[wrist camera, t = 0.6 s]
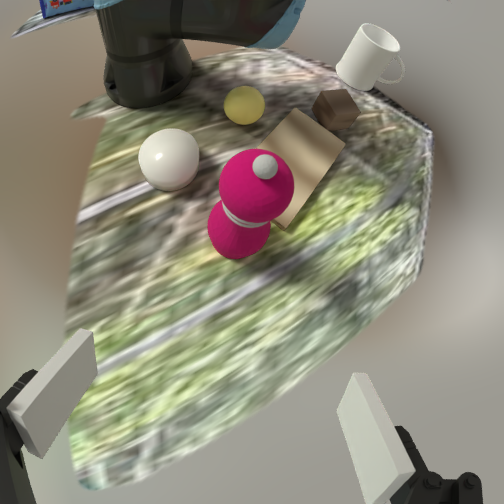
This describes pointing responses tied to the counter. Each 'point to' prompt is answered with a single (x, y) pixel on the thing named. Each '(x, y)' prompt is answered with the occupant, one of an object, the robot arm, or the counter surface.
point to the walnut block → (335, 109)
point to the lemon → (244, 105)
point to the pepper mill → (249, 202)
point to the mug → (369, 58)
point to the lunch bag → (62, 6)
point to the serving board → (302, 156)
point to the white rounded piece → (169, 159)
